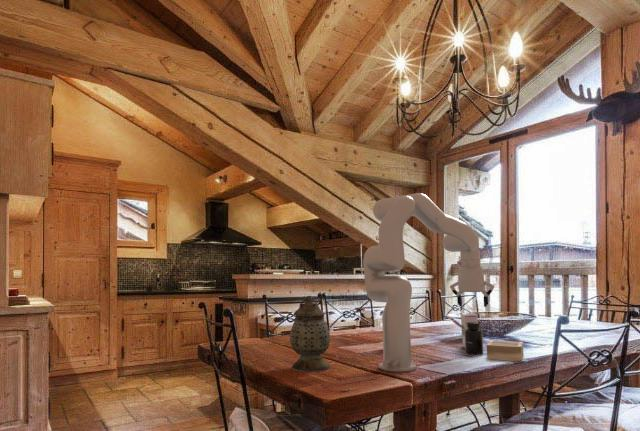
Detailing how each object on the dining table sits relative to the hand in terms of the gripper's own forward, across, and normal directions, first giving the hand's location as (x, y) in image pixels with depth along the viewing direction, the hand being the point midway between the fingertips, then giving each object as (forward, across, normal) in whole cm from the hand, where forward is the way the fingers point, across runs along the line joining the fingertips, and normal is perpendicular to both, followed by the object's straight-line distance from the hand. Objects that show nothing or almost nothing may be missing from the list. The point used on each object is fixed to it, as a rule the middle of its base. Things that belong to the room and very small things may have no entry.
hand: (472, 306), depth 192 cm
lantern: (+17, -48, -51) cm, 72 cm away
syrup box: (+19, -3, +10) cm, 22 cm away
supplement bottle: (+19, 0, -1) cm, 19 cm away
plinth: (+18, +12, -5) cm, 22 cm away
